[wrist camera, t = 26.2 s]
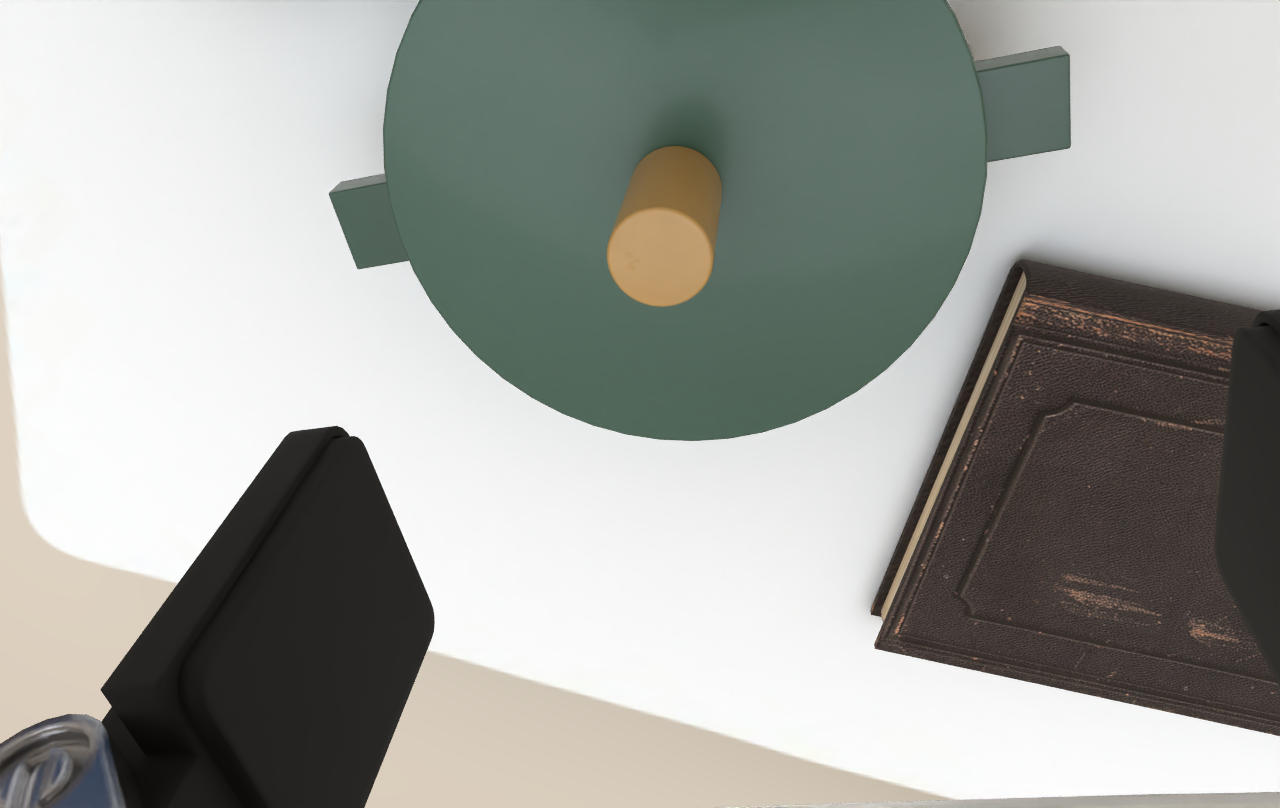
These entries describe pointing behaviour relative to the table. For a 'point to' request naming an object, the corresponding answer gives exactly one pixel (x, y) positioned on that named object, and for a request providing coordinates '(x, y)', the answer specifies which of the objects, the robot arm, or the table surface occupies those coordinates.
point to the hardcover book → (1085, 506)
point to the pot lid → (686, 196)
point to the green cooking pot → (1015, 117)
